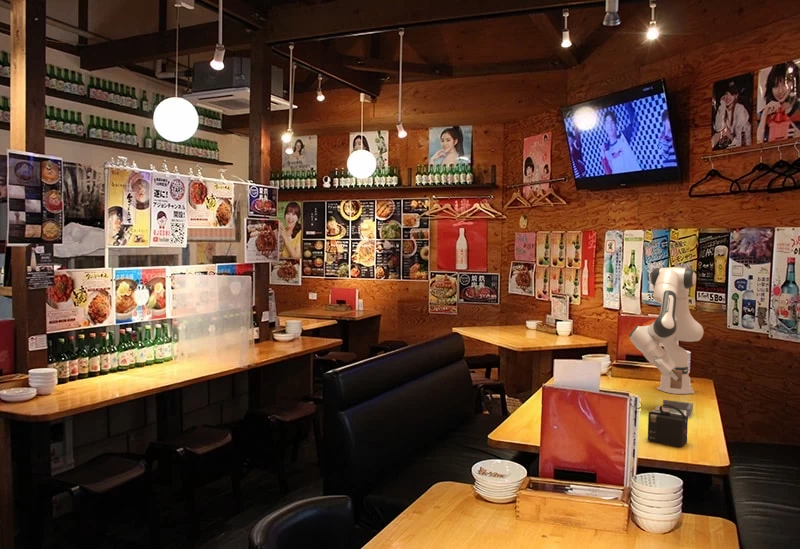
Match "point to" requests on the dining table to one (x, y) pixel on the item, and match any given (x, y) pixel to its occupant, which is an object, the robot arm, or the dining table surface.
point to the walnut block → (678, 382)
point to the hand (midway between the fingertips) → (677, 378)
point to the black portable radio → (667, 427)
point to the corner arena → (683, 406)
